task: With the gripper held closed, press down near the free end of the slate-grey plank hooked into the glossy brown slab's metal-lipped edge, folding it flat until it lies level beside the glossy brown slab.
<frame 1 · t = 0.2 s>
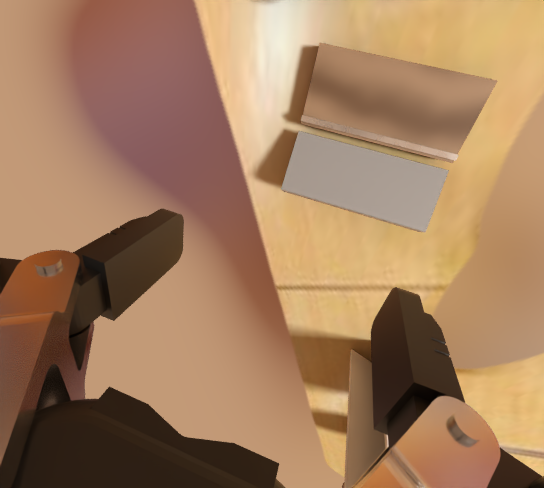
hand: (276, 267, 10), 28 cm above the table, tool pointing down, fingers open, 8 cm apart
glossy brown slab: (386, 104, 30), on the table
brochure: (385, 372, 49), on the table
slate plank: (359, 181, 32), point 3 cm above the table, hinge at 25.0°
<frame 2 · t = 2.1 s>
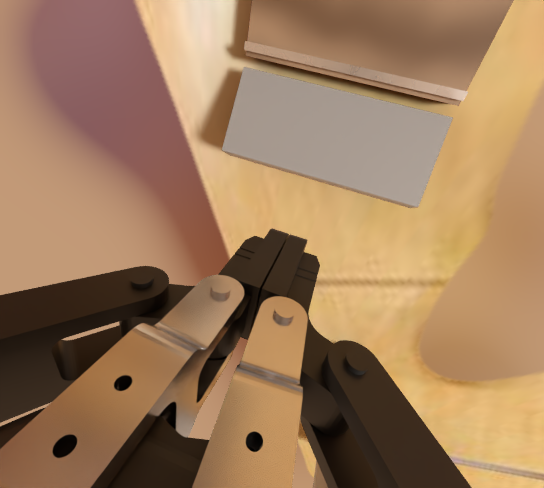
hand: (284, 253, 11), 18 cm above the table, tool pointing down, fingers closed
glossy brown slab: (365, 21, 21), on the table
slate plank: (328, 138, 23), point 3 cm above the table, hinge at 25.0°
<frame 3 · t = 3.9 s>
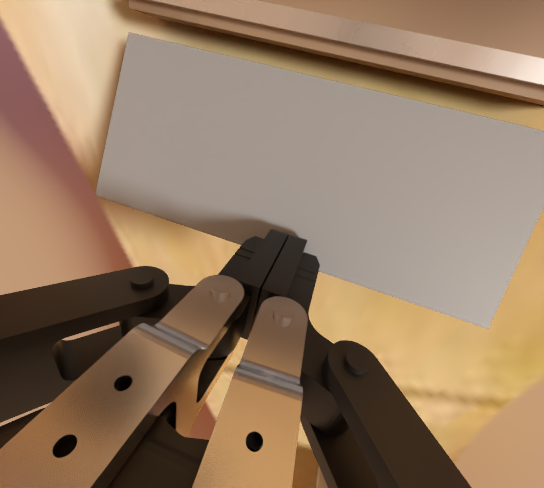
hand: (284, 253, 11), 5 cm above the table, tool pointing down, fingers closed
slate plank: (299, 175, 12), point 3 cm above the table, hinge at 24.3°, touching gripper
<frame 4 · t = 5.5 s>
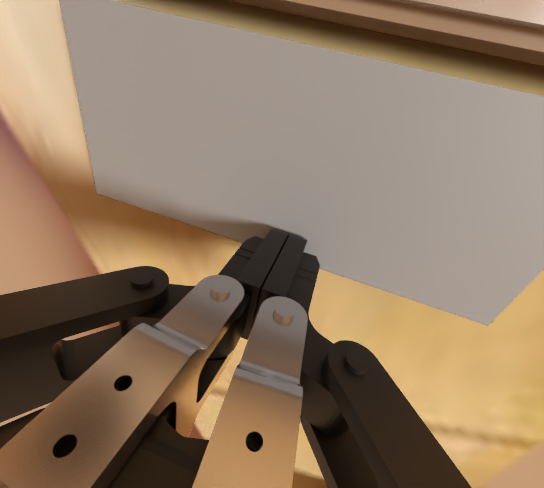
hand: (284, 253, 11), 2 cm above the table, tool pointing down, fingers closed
slate plank: (297, 163, 10), point 1 cm above the table, hinge at -1.0°, touching gripper
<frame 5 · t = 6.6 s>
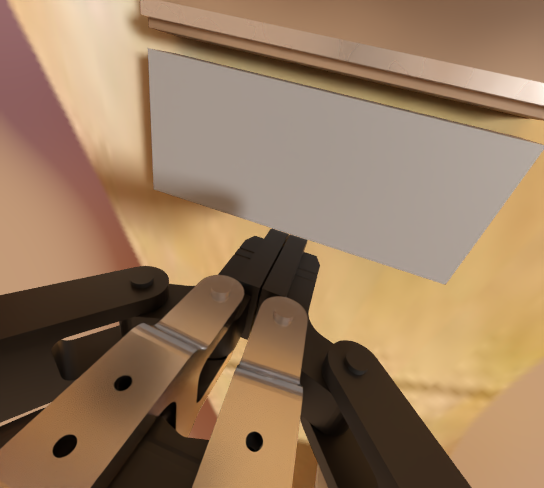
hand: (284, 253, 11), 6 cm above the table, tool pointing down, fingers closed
slate plank: (308, 167, 14), point 1 cm above the table, hinge at -1.1°
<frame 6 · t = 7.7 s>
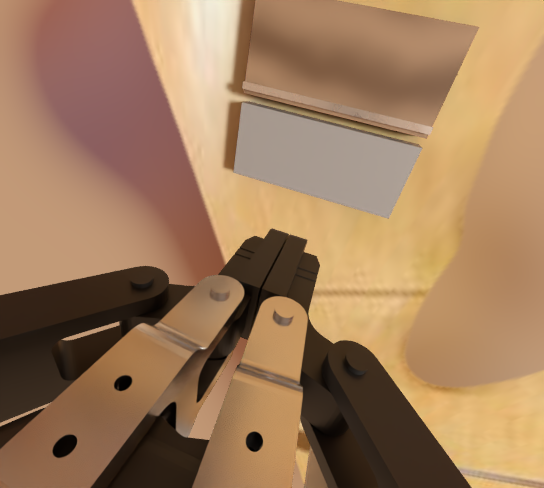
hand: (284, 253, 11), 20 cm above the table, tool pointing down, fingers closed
glossy brown slab: (345, 66, 24), on the table
brochure: (362, 389, 43), on the table
slate plank: (318, 159, 28), point 1 cm above the table, hinge at -1.1°
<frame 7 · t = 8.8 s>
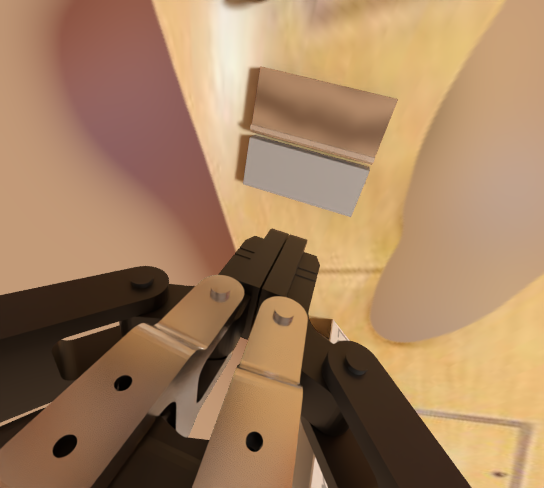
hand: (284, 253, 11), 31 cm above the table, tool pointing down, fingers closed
glossy brown slab: (319, 115, 36), on the table
brochure: (340, 347, 55), on the table
slate plank: (302, 176, 40), point 1 cm above the table, hinge at -1.1°
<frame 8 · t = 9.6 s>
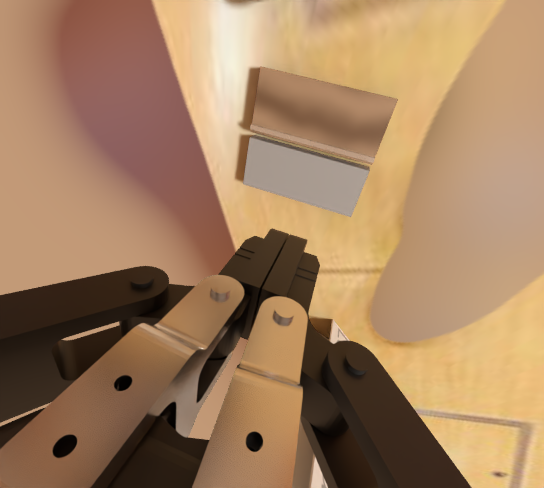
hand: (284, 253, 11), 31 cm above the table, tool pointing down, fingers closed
glossy brown slab: (319, 115, 36), on the table
brochure: (340, 347, 55), on the table
slate plank: (302, 176, 40), point 1 cm above the table, hinge at -1.1°
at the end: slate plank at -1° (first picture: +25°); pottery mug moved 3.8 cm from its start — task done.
